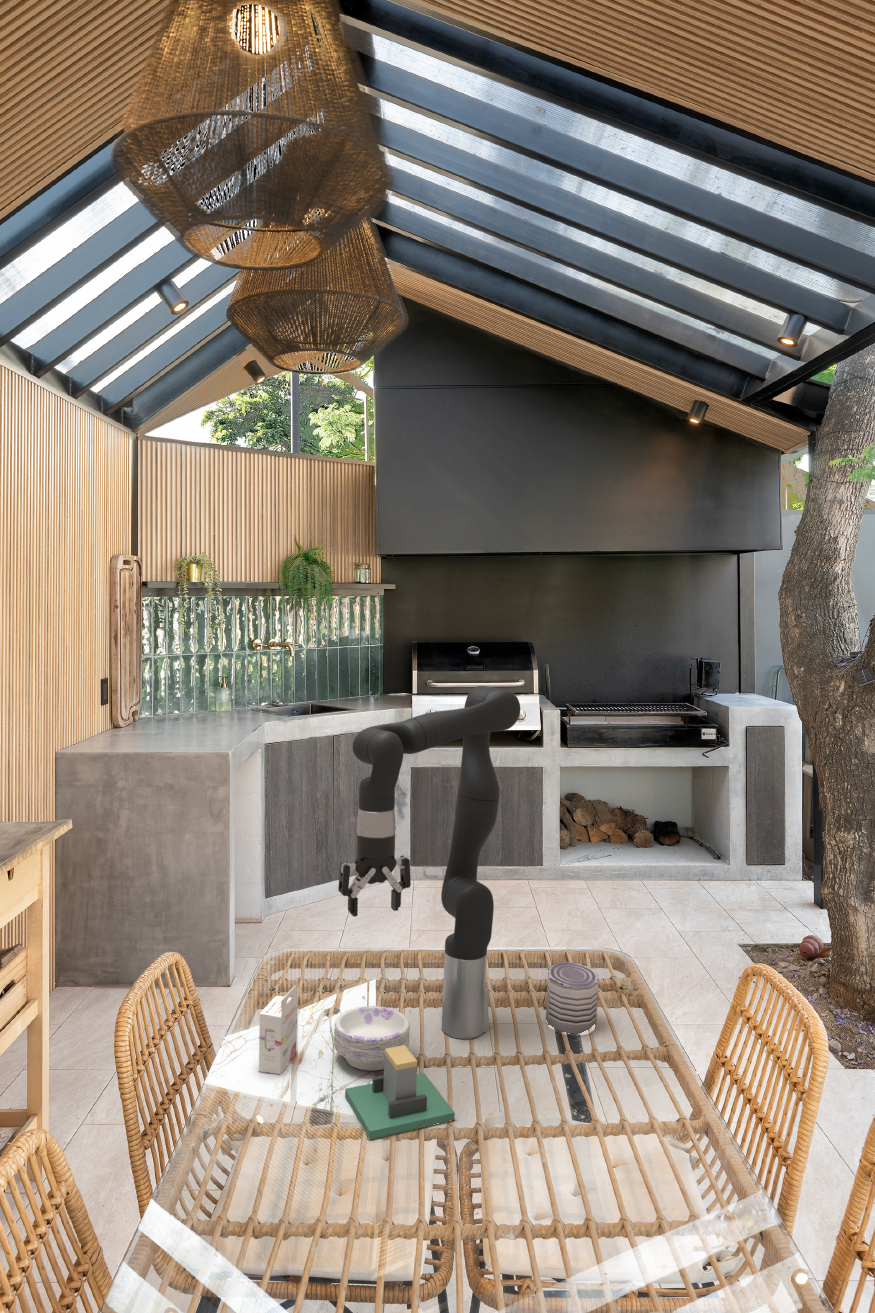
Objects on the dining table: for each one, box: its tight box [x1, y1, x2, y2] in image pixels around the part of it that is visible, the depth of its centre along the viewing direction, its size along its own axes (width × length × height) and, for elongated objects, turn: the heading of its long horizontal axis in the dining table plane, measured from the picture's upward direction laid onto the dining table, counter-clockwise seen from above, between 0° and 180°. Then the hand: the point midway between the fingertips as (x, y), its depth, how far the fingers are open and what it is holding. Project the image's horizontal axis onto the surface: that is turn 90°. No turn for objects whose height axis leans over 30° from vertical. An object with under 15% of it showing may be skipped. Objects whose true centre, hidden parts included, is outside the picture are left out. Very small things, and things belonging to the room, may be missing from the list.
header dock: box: [344, 1072, 455, 1141], centre depth 155 cm, size 16×14×4 cm
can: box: [545, 960, 600, 1034], centre depth 189 cm, size 11×11×12 cm
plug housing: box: [383, 1045, 418, 1102], centre depth 154 cm, size 4×6×8 cm, turn 24°
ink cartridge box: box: [258, 984, 299, 1075], centre depth 168 cm, size 9×5×15 cm, turn 168°
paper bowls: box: [333, 1005, 411, 1072], centre depth 171 cm, size 15×15×8 cm
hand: (374, 912), depth 166 cm, fingers open, 8 cm apart
